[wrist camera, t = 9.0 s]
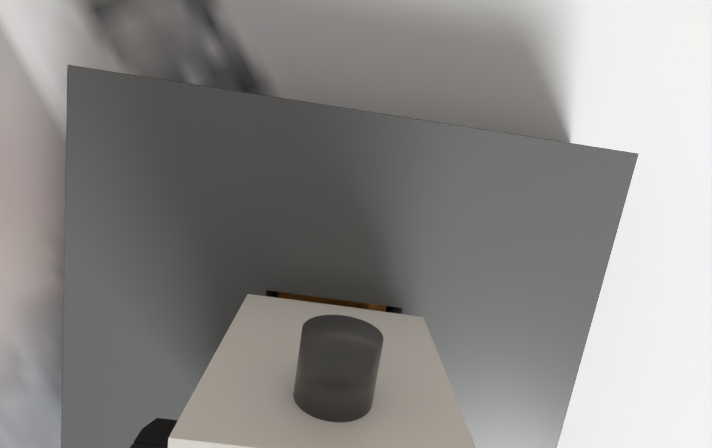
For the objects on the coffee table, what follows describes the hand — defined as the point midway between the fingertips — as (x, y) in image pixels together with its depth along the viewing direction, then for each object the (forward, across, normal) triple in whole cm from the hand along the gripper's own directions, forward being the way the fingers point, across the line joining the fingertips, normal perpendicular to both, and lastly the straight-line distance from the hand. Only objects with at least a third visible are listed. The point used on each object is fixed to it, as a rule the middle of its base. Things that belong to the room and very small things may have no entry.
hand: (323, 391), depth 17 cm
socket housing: (+6, 0, 0) cm, 6 cm away
